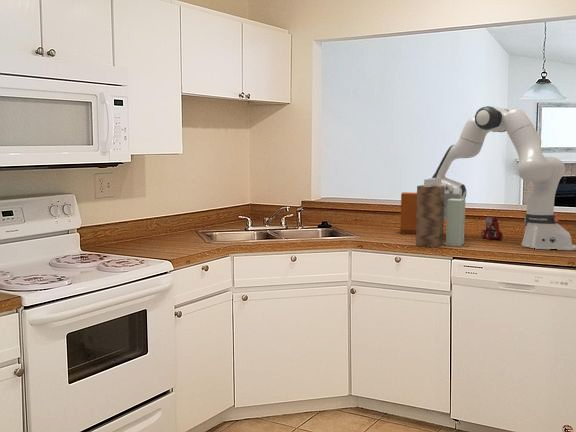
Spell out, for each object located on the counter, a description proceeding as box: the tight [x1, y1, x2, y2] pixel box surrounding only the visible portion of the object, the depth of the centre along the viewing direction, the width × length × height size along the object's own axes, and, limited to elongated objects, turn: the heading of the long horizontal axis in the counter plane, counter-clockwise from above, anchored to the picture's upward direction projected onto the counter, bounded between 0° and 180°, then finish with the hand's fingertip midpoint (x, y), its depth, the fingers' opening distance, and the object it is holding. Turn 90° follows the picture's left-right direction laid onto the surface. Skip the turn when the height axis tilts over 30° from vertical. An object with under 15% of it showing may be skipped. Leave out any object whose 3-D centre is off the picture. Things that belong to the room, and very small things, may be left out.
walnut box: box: [415, 184, 445, 248], centre depth 300 cm, size 10×9×26 cm
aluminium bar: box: [423, 177, 441, 187], centre depth 302 cm, size 3×20×3 cm, turn 155°
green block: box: [445, 198, 466, 247], centre depth 302 cm, size 6×10×20 cm, turn 155°
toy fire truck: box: [480, 216, 503, 241], centre depth 321 cm, size 7×12×10 cm, turn 6°
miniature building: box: [399, 192, 417, 236], centre depth 340 cm, size 10×9×20 cm
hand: (436, 185), depth 308 cm, fingers open, 8 cm apart
